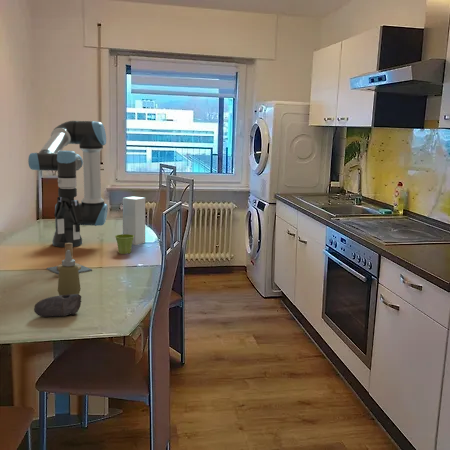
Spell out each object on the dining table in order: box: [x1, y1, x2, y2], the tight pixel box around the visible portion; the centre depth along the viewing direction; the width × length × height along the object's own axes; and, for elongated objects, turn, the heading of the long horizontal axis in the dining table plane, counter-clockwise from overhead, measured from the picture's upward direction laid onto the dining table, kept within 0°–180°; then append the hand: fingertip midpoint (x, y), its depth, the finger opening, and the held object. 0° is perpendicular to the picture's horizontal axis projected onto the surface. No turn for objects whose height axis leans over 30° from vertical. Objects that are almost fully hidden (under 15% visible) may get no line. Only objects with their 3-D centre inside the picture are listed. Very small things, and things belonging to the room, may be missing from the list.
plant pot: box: [114, 233, 134, 255], centre depth 256 cm, size 9×9×9 cm
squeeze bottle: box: [57, 250, 81, 296], centre depth 184 cm, size 8×8×18 cm
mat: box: [46, 264, 93, 276], centre depth 223 cm, size 14×14×1 cm
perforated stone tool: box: [33, 293, 82, 318], centre depth 168 cm, size 15×5×7 cm, turn 107°
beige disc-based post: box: [56, 243, 82, 270], centre depth 222 cm, size 10×10×11 cm
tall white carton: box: [122, 195, 146, 246], centre depth 278 cm, size 9×9×25 cm
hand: (68, 236), depth 220 cm, fingers open, 13 cm apart
